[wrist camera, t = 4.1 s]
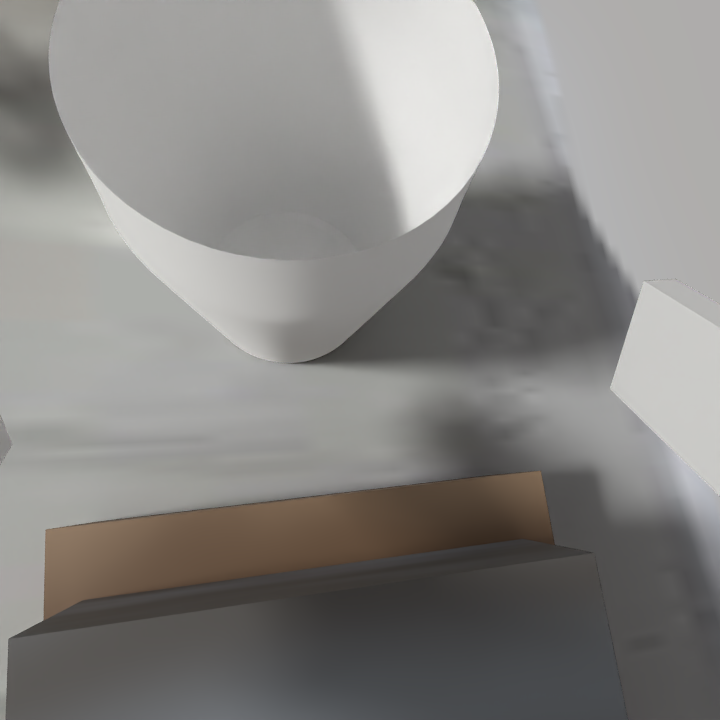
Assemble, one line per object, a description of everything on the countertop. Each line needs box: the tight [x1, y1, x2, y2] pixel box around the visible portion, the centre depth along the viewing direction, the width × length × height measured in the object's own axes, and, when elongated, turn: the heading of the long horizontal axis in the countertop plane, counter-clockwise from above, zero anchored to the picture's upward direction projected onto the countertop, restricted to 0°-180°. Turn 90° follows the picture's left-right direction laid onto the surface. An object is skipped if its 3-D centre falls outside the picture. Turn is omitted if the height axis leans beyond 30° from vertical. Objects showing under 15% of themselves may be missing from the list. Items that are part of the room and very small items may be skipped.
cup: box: [48, 0, 499, 363], centre depth 16 cm, size 9×9×12 cm
